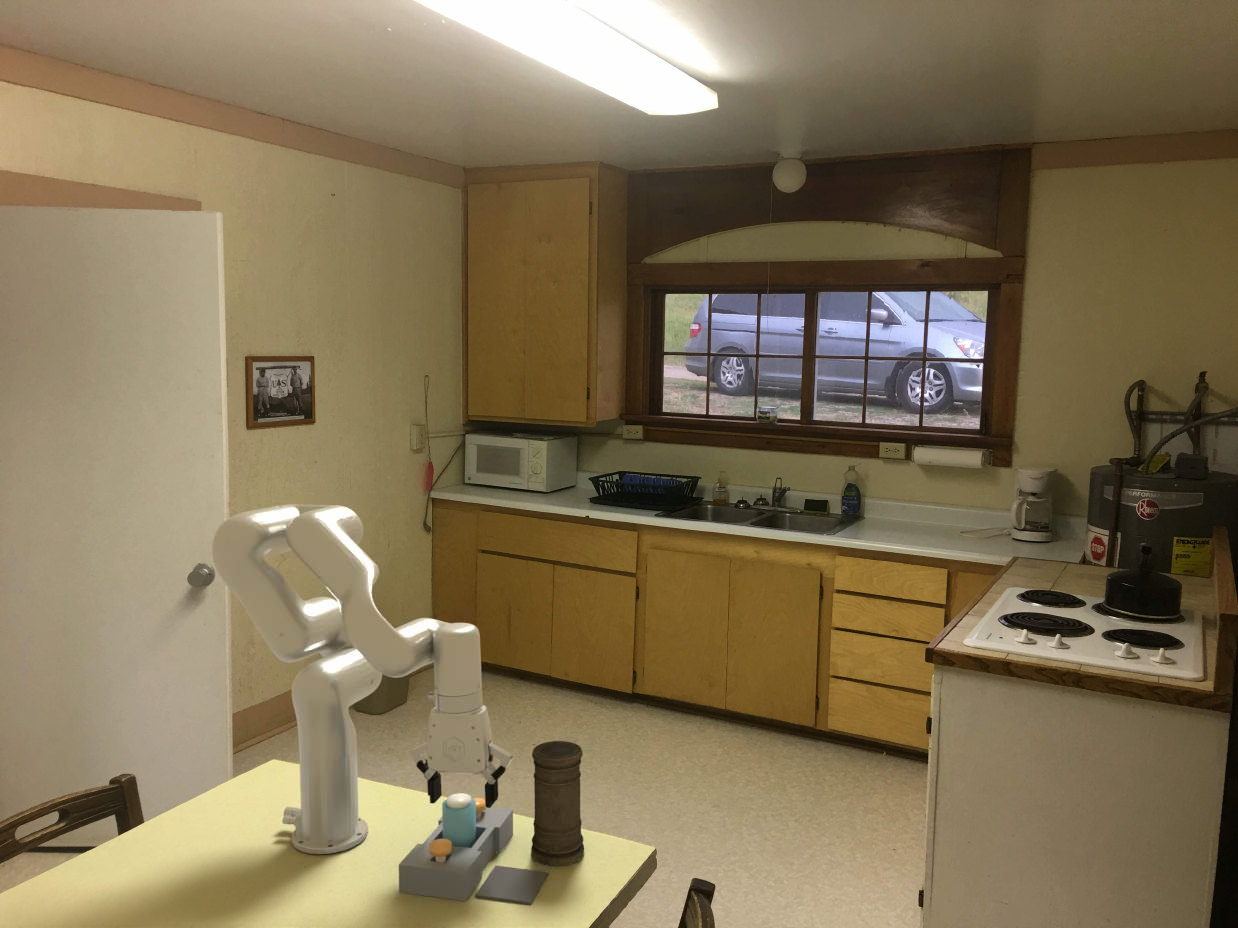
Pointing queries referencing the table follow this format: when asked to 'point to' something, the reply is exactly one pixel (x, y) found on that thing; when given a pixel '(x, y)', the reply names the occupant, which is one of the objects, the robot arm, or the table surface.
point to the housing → (456, 859)
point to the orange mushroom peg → (479, 807)
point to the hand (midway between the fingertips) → (463, 801)
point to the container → (557, 803)
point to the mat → (512, 885)
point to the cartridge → (459, 820)
